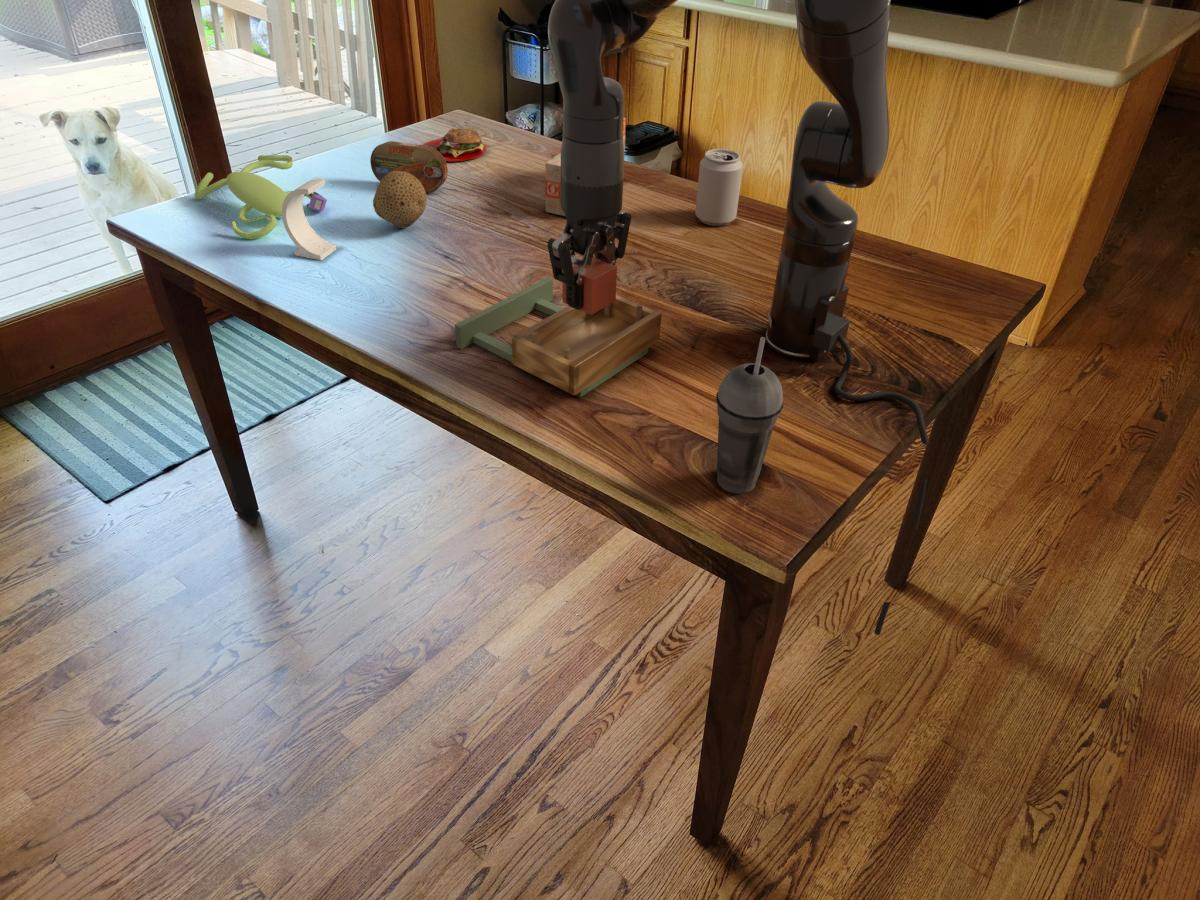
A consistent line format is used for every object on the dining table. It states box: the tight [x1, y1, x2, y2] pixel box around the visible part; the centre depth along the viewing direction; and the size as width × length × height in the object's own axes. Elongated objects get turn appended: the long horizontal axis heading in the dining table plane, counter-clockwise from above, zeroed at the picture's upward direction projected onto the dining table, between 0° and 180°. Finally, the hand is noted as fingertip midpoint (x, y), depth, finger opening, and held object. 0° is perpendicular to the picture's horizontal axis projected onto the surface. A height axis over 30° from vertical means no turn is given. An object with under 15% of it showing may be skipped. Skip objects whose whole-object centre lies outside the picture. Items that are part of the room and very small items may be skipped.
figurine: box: [194, 154, 328, 240], centre depth 156 cm, size 18×27×6 cm
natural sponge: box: [372, 171, 427, 229], centre depth 149 cm, size 9×9×10 cm
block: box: [562, 256, 618, 315], centre depth 113 cm, size 5×5×5 cm
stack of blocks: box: [544, 117, 627, 217], centre depth 162 cm, size 21×6×12 cm, turn 155°
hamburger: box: [422, 127, 487, 162], centre depth 181 cm, size 14×14×6 cm
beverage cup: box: [715, 336, 784, 494], centre depth 95 cm, size 7×7×20 cm
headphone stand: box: [281, 178, 338, 261], centre depth 141 cm, size 5×6×12 cm
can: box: [694, 148, 744, 227], centre depth 155 cm, size 8×8×12 cm
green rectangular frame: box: [454, 276, 649, 398], centre depth 122 cm, size 21×19×4 cm
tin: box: [369, 140, 449, 194], centre depth 164 cm, size 15×3×8 cm, turn 73°
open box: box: [510, 294, 663, 396], centre depth 118 cm, size 11×18×5 cm, turn 140°
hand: (589, 298), depth 114 cm, fingers closed on block, 5 cm apart
